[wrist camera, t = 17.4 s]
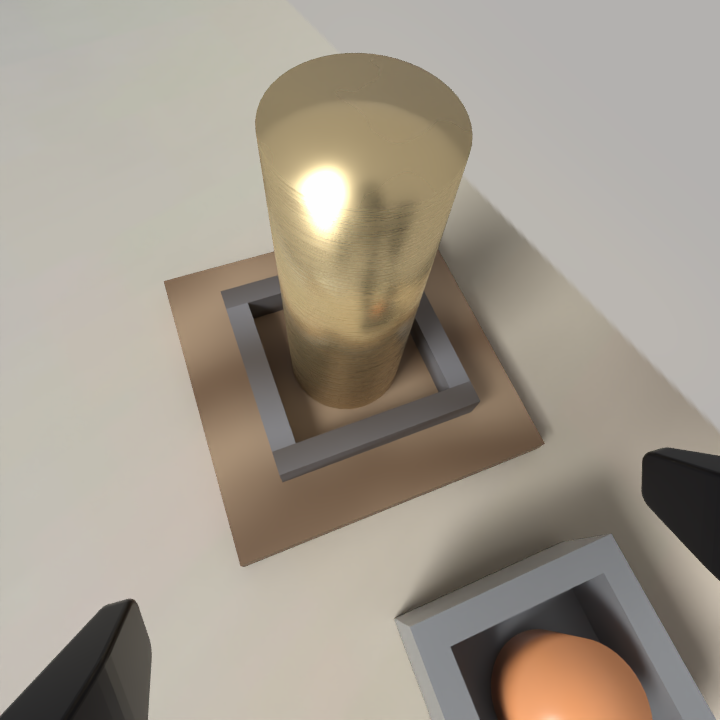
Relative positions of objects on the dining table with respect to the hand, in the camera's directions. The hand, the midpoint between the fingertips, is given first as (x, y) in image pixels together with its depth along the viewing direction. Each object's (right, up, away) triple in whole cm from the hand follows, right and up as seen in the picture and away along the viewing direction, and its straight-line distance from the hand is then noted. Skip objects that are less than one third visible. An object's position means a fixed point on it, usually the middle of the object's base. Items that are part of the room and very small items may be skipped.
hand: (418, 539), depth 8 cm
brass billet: (-2, +3, +15) cm, 15 cm away
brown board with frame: (-2, +3, +16) cm, 16 cm away
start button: (+6, -9, +9) cm, 14 cm away
